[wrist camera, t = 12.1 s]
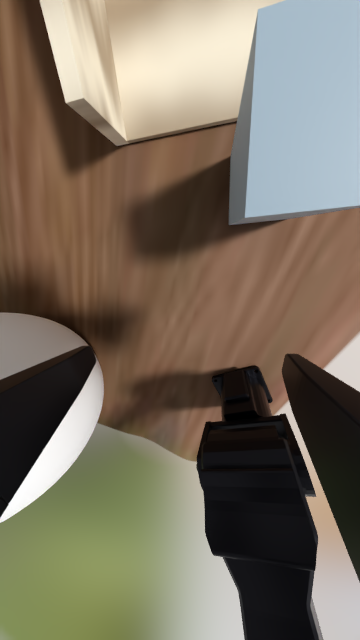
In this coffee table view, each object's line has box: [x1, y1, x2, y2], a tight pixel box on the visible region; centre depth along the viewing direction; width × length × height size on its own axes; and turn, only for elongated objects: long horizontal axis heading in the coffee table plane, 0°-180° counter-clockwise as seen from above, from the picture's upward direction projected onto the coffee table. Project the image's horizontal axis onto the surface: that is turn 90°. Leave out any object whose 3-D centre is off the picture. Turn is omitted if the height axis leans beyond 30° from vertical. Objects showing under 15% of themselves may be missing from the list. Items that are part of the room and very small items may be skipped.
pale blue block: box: [229, 0, 360, 225], centre depth 10 cm, size 5×5×11 cm
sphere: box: [0, 313, 104, 523], centre depth 19 cm, size 20×20×20 cm
